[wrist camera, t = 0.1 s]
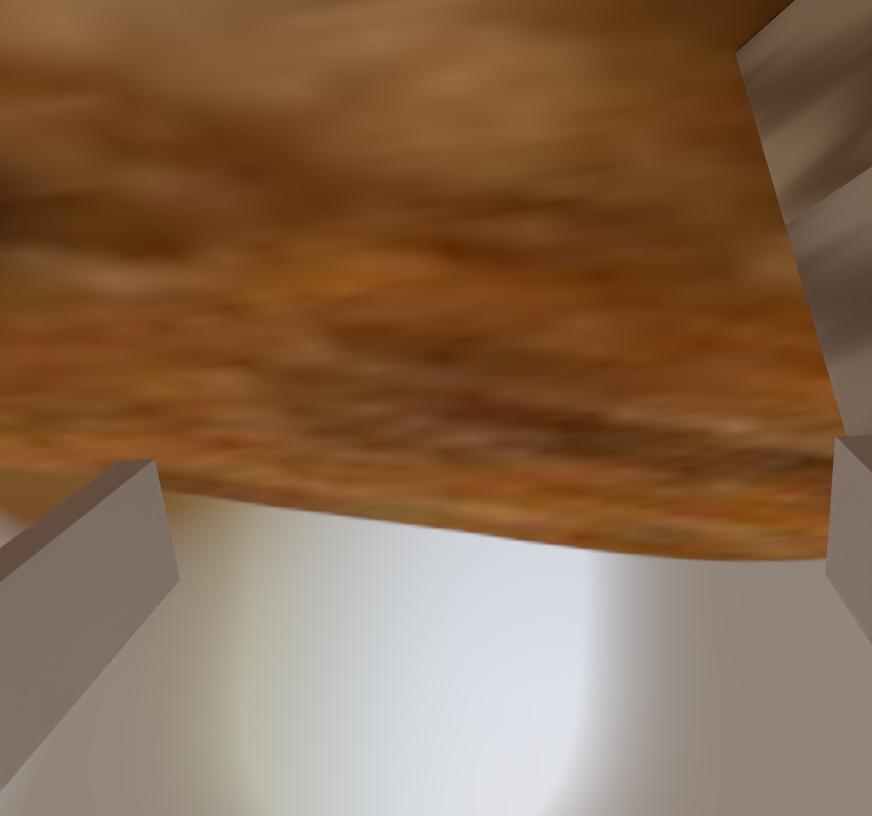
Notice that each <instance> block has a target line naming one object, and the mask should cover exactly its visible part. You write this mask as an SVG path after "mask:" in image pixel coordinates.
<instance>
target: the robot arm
mask: <svg viewBox="0 0 872 816" xmlns="http://www.w3.org/2000/svg"><path fill="white" fill-rule="evenodd" d="M826 576H827V577H828V579H829V580H830V582H831V583H832V585H833V586H834V588H835V589H836V591H837V592H838V594H839V596H840V597H841V599H842V600H843V602H844V603H845V604H846V606H847V608H848V609H849V611H850V612H851V614H852V615H853V617H854V619H855V620H856V622H857V623H858V625H859V626H860V628H861V629H862V631H863V632H864V634H865V635H866V637H867V638H868V640H869V641H870V643H871V644H872V435H861V436H836V437H835V450H834V464H833V478H832V492H831V505H830V519H829V533H828V547H827V561H826ZM179 580H180V578H179V573H178V568H177V563H176V559H175V554H174V550H173V544H172V540H171V535H170V530H169V525H168V521H167V516H166V511H165V506H164V502H163V497H162V492H161V487H160V482H159V478H158V473H157V468H156V463H155V459H142V460H119V461H118V462H116V463H115V464H114V465H112V466H111V467H110V468H108V469H107V470H106V471H104V472H103V473H101V474H100V475H99V476H97V477H96V478H95V479H93V480H92V481H91V482H89V483H88V484H86V485H85V486H84V487H82V488H81V489H80V490H78V491H77V492H76V493H74V494H73V495H72V496H70V497H69V498H68V499H66V500H65V501H63V502H62V503H61V504H59V505H58V506H57V507H55V508H54V509H53V510H51V511H50V512H48V513H47V514H46V515H44V516H43V517H42V518H40V519H39V520H38V521H36V522H35V523H33V524H32V525H31V526H29V527H28V528H27V529H25V530H24V531H23V532H21V533H20V534H19V535H17V536H16V537H14V538H13V539H12V540H11V541H9V542H8V543H6V544H5V545H3V546H2V547H1V548H0V791H1V790H2V789H3V788H4V787H5V786H6V784H7V783H8V782H9V781H10V779H11V778H12V777H13V776H14V775H15V774H16V772H17V771H18V770H19V769H20V768H21V767H22V765H23V764H24V763H25V762H26V761H27V760H28V758H29V757H30V756H31V755H32V754H33V752H34V751H35V750H36V749H37V748H38V746H39V745H40V744H41V743H42V742H43V741H44V739H45V738H46V737H47V736H48V735H49V734H50V732H51V731H52V730H53V729H54V728H55V726H56V725H57V724H58V723H59V722H60V721H61V719H62V718H63V717H64V716H65V715H66V713H67V712H68V711H69V710H70V709H71V708H72V706H73V705H74V704H75V703H76V701H78V699H79V698H80V697H81V696H82V694H83V693H84V692H85V691H86V690H87V689H88V688H89V686H90V685H91V684H92V683H93V682H94V680H95V679H96V678H97V677H98V676H99V674H100V673H101V672H102V671H103V670H104V669H105V667H106V666H107V665H108V664H109V663H110V662H111V660H112V659H113V658H114V657H115V656H116V654H117V653H118V652H119V651H120V650H121V648H122V647H123V646H124V645H125V644H126V642H127V641H128V640H129V639H130V638H131V637H132V635H133V634H134V633H135V632H136V630H138V628H139V627H140V626H141V625H142V623H144V621H145V620H146V619H147V618H148V617H149V615H150V614H151V613H152V612H153V611H154V609H155V608H156V607H157V606H158V605H159V604H160V602H161V601H162V600H163V599H164V598H165V597H166V595H167V594H168V593H169V592H170V591H171V589H172V588H173V587H174V586H175V585H176V583H177V582H178V581H179Z"/></svg>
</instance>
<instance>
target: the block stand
mask: <svg viewBox="0 0 872 816" xmlns="http://www.w3.org/2000/svg"><path fill="white" fill-rule="evenodd" d="M735 54H736V58H737V61H738V65H739V68H740V72H741V75H742V79H743V82H744V85H745V89H746V92H747V96H748V99H749V103H750V106H751V109H752V113H753V116H754V120H755V123H756V127H757V130H758V134H759V137H760V140H761V144H762V147H763V151H764V154H765V158H766V161H767V164H768V168H769V171H770V175H771V178H772V182H773V185H774V189H775V192H776V195H777V199H778V202H779V206H780V209H781V213H782V216H783V219H784V223H785V226H786V230H787V233H788V237H789V240H790V243H791V247H792V250H793V254H794V257H795V261H796V264H797V268H798V271H799V274H800V278H801V281H802V285H803V288H804V292H805V295H806V298H807V302H808V305H809V309H810V312H811V316H812V319H813V323H814V326H815V329H816V333H817V336H818V340H819V343H820V347H821V350H822V353H823V357H824V360H825V364H826V367H827V371H828V374H829V378H830V381H831V384H832V388H833V391H834V395H835V398H836V402H837V405H838V408H839V412H840V415H841V419H842V422H843V426H844V429H845V433H846V436H861V435H872V0H794V1H793V2H792V3H791V4H790V5H789V6H788V7H787V8H785V9H784V10H783V11H782V12H781V13H780V14H779V15H778V16H776V17H775V18H774V19H773V20H772V21H771V22H770V23H769V24H767V25H766V26H765V27H764V28H763V29H762V30H761V31H759V32H758V33H757V34H756V35H755V36H754V37H753V38H752V39H750V40H749V41H748V42H747V43H746V44H745V45H744V46H743V47H741V48H740V49H739V50H738V51H737V52H736V53H735Z"/></svg>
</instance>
